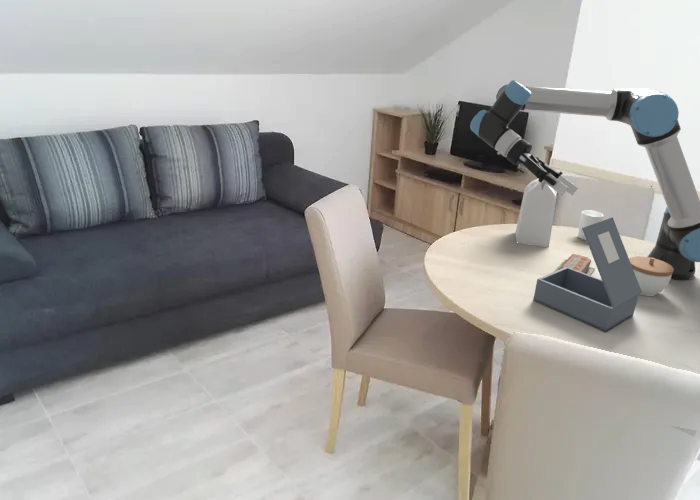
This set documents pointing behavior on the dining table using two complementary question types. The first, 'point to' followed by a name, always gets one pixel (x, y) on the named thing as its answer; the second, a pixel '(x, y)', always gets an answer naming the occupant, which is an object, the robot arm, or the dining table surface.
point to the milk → (536, 214)
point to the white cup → (588, 220)
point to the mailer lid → (612, 261)
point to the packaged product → (578, 264)
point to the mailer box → (582, 299)
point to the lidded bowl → (651, 274)
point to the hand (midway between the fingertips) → (570, 191)
